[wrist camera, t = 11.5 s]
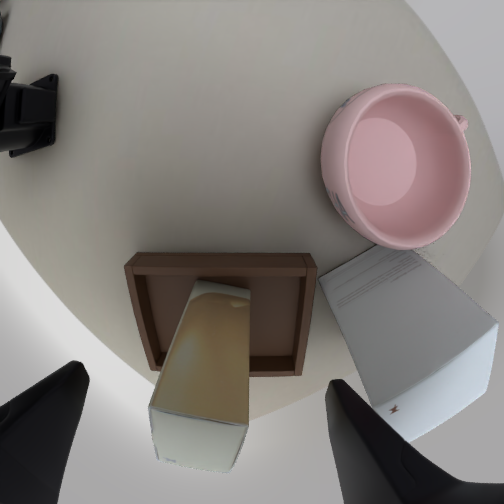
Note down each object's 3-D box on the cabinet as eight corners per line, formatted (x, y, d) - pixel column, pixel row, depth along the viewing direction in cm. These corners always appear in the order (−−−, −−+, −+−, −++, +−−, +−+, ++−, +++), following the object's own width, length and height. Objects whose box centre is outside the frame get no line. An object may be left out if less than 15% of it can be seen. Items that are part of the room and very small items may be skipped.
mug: (355, 250, 20) (386, 287, 15) (280, 141, 17) (292, 137, 12) (456, 170, 17) (504, 183, 12) (401, 65, 14) (445, 47, 9)
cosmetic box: (238, 347, 23) (230, 476, 11) (188, 338, 22) (155, 463, 11) (252, 285, 20) (253, 428, 9) (195, 274, 20) (145, 409, 9)
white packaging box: (346, 337, 23) (391, 453, 12) (315, 276, 21) (369, 409, 9) (413, 299, 22) (487, 393, 10) (394, 232, 19) (503, 321, 8)
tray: (157, 352, 24) (150, 370, 22) (136, 252, 20) (123, 265, 18) (298, 356, 24) (301, 375, 22) (310, 252, 20) (317, 267, 18)
